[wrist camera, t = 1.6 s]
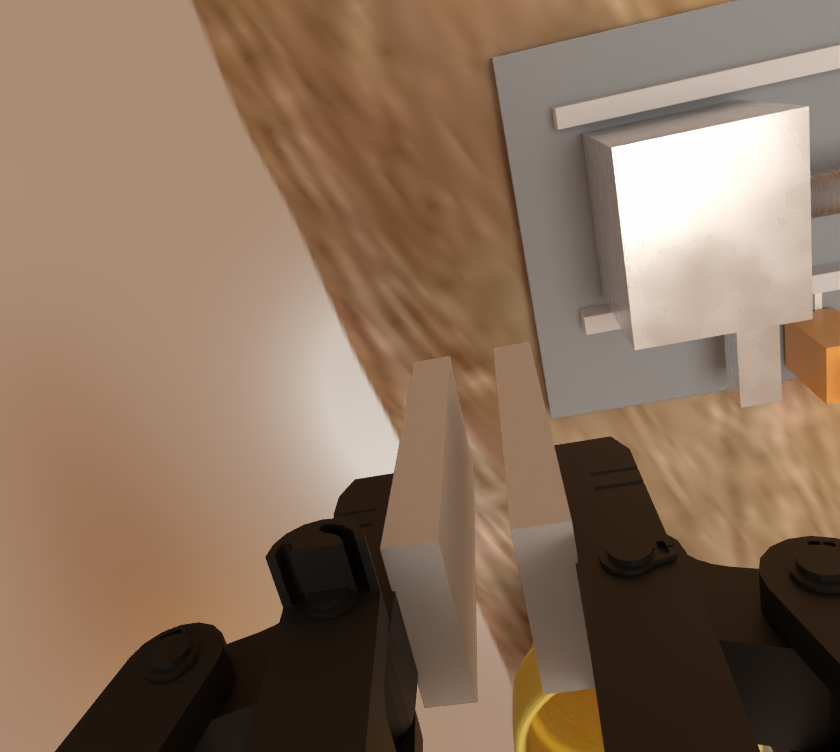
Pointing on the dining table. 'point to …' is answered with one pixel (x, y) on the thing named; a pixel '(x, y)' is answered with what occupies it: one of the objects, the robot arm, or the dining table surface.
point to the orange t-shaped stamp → (816, 353)
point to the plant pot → (554, 715)
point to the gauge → (710, 231)
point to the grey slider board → (629, 102)
